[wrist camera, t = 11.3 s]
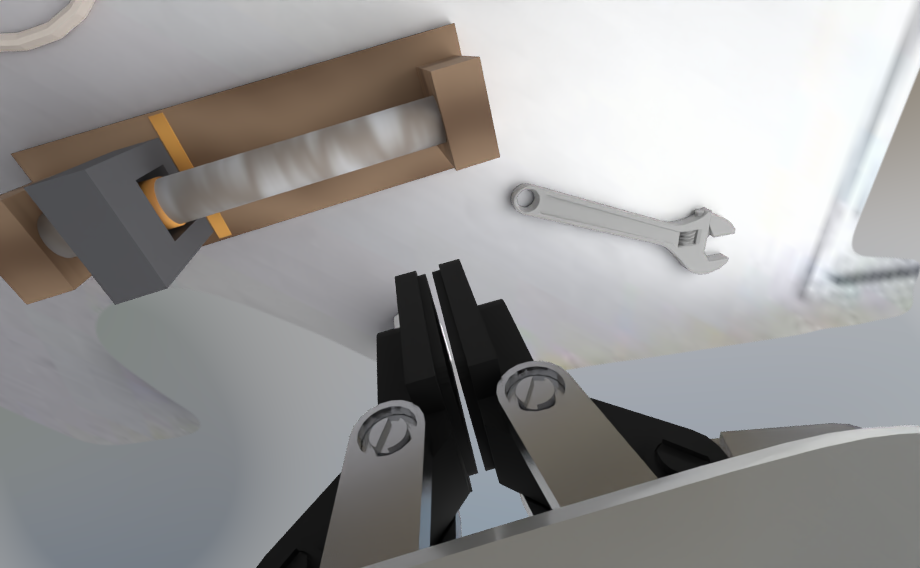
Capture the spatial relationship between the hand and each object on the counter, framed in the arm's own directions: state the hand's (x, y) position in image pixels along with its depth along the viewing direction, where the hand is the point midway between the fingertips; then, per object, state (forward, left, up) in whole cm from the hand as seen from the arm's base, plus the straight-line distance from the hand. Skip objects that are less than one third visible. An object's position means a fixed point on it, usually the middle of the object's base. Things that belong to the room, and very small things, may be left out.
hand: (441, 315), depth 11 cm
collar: (-1, -16, -24) cm, 29 cm away
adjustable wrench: (+14, +20, -28) cm, 37 cm away
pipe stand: (-1, -9, -28) cm, 29 cm away
